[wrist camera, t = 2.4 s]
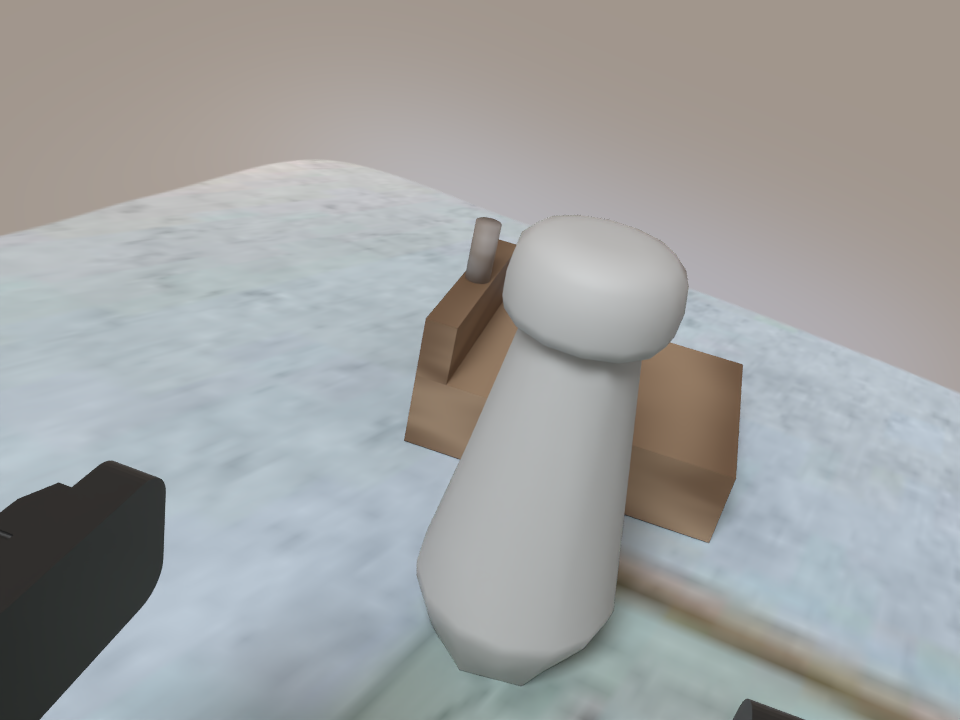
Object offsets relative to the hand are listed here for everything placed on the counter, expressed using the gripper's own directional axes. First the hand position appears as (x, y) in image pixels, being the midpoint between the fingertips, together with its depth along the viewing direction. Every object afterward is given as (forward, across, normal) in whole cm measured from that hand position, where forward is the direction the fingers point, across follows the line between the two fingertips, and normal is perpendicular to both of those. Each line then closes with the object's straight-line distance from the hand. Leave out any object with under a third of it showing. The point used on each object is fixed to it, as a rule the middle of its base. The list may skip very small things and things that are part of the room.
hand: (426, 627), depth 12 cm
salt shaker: (+12, 0, +11) cm, 16 cm away
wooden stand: (+24, 0, +11) cm, 26 cm away
